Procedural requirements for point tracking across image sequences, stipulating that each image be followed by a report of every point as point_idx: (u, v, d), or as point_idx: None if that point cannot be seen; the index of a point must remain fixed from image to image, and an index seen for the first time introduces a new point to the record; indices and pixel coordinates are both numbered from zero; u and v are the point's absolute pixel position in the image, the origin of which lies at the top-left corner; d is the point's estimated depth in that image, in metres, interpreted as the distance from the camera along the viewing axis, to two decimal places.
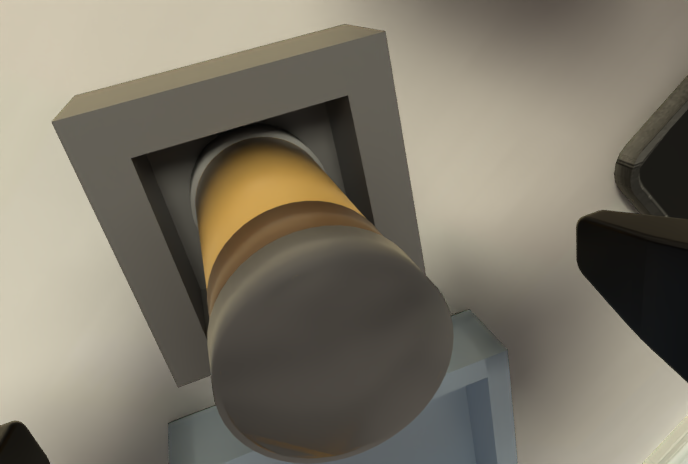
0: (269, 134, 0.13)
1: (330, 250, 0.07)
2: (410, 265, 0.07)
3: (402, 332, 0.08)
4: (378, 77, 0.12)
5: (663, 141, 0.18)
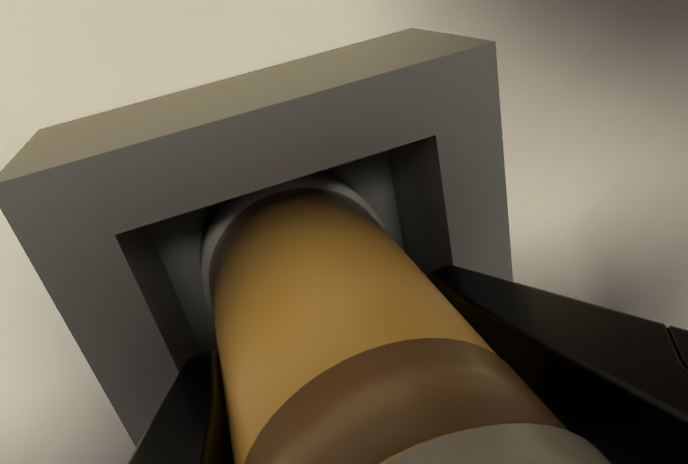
0: (312, 183, 0.09)
1: None
2: None
3: None
4: (480, 108, 0.08)
5: None
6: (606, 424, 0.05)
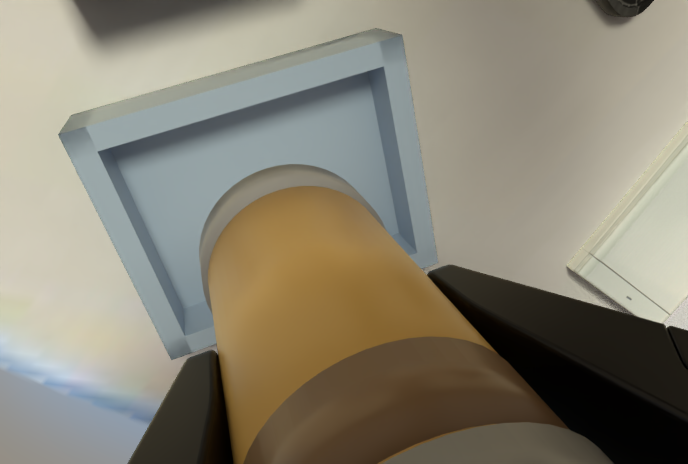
0: (312, 182, 0.09)
1: None
2: None
3: None
4: None
5: None
6: (606, 424, 0.05)
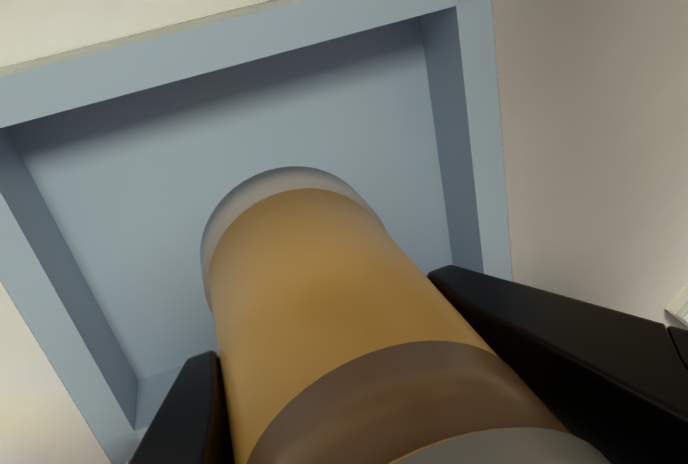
0: (313, 184, 0.09)
1: None
2: None
3: None
4: None
5: None
6: (606, 424, 0.05)
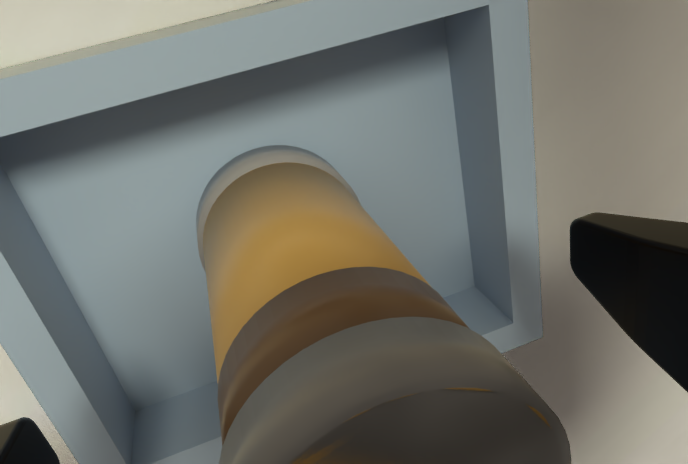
0: (294, 159, 0.11)
1: (406, 370, 0.05)
2: (521, 386, 0.05)
3: None
4: None
5: None
6: None
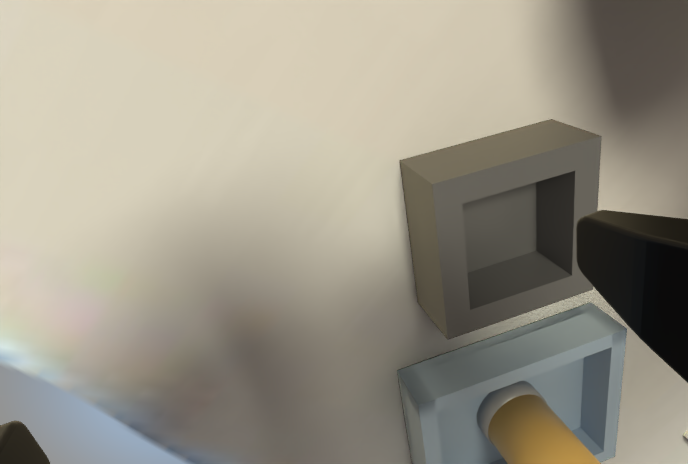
0: (527, 393, 0.27)
1: None
2: None
3: None
4: (592, 160, 0.20)
5: None
6: None
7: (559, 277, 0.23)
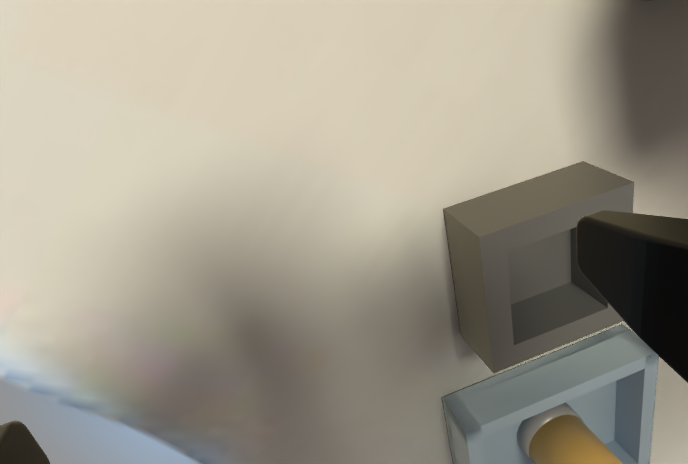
0: (565, 413, 0.29)
1: None
2: None
3: None
4: (626, 204, 0.22)
5: None
6: None
7: (595, 310, 0.24)
